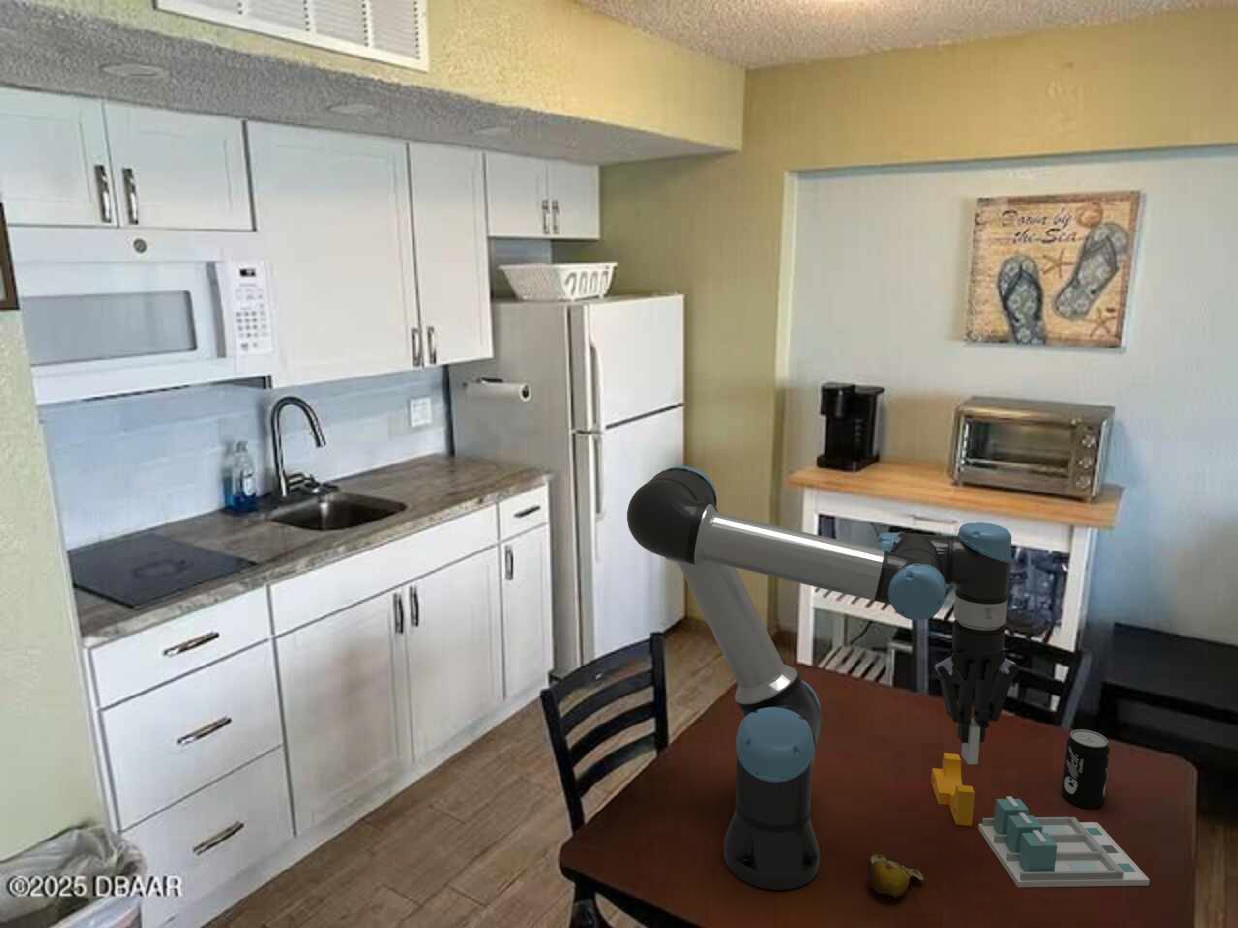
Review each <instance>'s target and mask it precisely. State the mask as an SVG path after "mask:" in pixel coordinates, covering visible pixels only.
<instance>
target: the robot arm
mask: <svg viewBox="0 0 1238 928" xmlns="http://www.w3.org/2000/svg"><path fill="white" fill-rule="evenodd" d="M717 502H718V497H717V493H716V489H715V486H714V484H713V482H712V481H711V479H710V478H709V477H708V476H707V475H706V474H705V473H703V472H702V471H700V470H699V469H697V468H694V467H691V466H687V465H676V466H671V467H669V468H667V469H663V470H661V471H660V472H658V473H656V474H655V475H654V476H653V477H652V478H651V479H650V480H649V481H648V482H646V483H645V484H644V485H641V486H640V487H639V488H638V490H636V491H635V493H633V495H632V496H631V499H630V500H629V504H628V507H627V511H626V521H627V526H628V529H629V532H630V533H631V535H632V537H633V538H634V540H635V541H636V542H637V544H638V545H640V546H641V547H642V548H644V549H645V550H647V551H649V552H650V553H653V554H655V555H657V556H661V557H664V558H665V560H668V561H671V562H673V563H676V564H678V566H679V568H680V570H681V572H682V574H683V576H684V578H685V580H686V583H687V584H688V586H689V589H690V590H691V593H692V595H693V596H694V598H695V601H696V603H697V604H698V607H699V608H700V610H701V612H702V615H703V617H704V619H705V621H706V623H707V625H708V627H709V628H710V631H711V633H712V635H713V638H714V639H715V641H716V643H717V644H718V647H719V649H720V651H721V654H722V656H723V657H724V659H725V661H726V663H727V666H728V668H729V669H730V671H731V673H732V675H733V677H734V679H735V682H736V683H737V689H736V691H735V695H734V699H735V701H736V703H737V706H738V707H739V709H740V711H741V713H742V715H743V717H744V718H743V719H742V720H741V721H740V723H739V726H738V730H737V733H736V738H735V739H736V740H735V748H736V751H735V752H736V776H735V777H736V780H735V781H736V783H735V785H736V786H735V811H734V813H733V815H732V819H731V820H730V823H729V825H728V828H727V831H726V832H725V833H726V834H725V837H724V840H723V857H724V861H725V863H726V866H727V867H728V868H729V870H730V872H731V873H733V874H734V875H735V876H736V877H737V878H739V879H740V880H741V881H744V883H747V884H750V885H752V886H755V887H757V888H761V889H765V890H766V889H767V890H774V891H785V890H787V891H788V890H792V889H796V888H800V887H802V886H804V885H806V884H808V883H810V881H812V880H813V879H815V877H816V875H817V874H818V873H819V867H820V855H821V854H820V847H819V843H818V840H817V836H816V834H815V830H814V827H813V824H812V821H811V799H812V797H811V796H812V795H811V794H812V776H813V767H814V762H815V757H816V752H817V751H816V750H817V747H818V740H819V737H820V731H821V729H822V723H823V716H822V708H821V702H820V700H819V698H818V695H817V693H816V692H815V690H814V689H813V688H812V687H811V686H810V684H809V683H807V682H806V681H804V680H801V677H800V675H799V674H798V671H797V669H796V668H795V667H793V666H790V665H787V664H785V663H783V660H782V659H781V657H780V654H779V652H778V650H777V648H776V646H775V644H774V642H773V640H772V638H771V636H770V634H769V632H768V630H767V627H766V626H765V624H764V622H763V620H762V617H761V616H760V614H759V611H758V610H757V608H756V606H755V604H754V602H753V600H752V598H751V596H750V593H749V592H748V589H747V588H746V585H745V583H744V581H743V580H742V578H741V575H740V573H739V571H738V569H739V570H743V571H748V572H752V573H757V574H760V575H765V576H769V577H774V578H777V579H781V580H785V581H790V582H795V583H799V584H803V585H807V586H809V587H810V586H811V587H814V588H815V587H816V588H819V589H821V590H822V589H823V590H827V591H831V592H835V593H839V594H845V595H848V596H853V597H857V598H861V599H865V600H869V601H874V602H877V603H882V604H885V605H889V606H891V607H892V608H893V610H894V611H895V612H896V613H897V614H898V615H900V616H901V617H903V618H905V619H907V620H911V621H925V620H928V619H930V618H933V617H934V616H935V615H937V614H938V613H939V611H941V610H942V608H943V605H944V603H945V602H946V593H947V587H946V585H955V588H954V589H955V590H954V591H955V592H954V605H953V615H952V616H953V618H954V620H953V622H952V633H951V648H950V651H949V652H948V655H947V656H948V657H947V658H945V659H944V660H942V661H941V662H940V661H939V660H936V661H934V662H933V665H932V666H933V667H934V669H935V670H936V672H937V674H938V676H939V681H940V686H941V691H942V696H943V702H944V705H945V711H946V714H947V716H948V717H949V718H950V719H951V721H952V722H953V723H955V724H956V723H958V724H957V738H958V740H959V741H960V742H961V753H960V754H961V757H962V758H963V760H965V762H966V764H967V765H978V763H979V753H980V752H979V751H980V750H979V749H980V743H984V742H985V739H986V729H988V728H989V727H990V724H989V723H991V722H995V723H997V722H998V721H999V720H1000V716H1001V714H1002V712H1003V711H1002V710H1003V707H1004V704H1005V702H1006V699H1007V696H1008V694H1009V690H1010V687H1011V685H1012V681H1013V679H1014V678H1015V677H1016V676H1017V674H1018V673H1019V672H1020V667H1019V666H1018V665H1017V664H1016V663H1015V662H1013V660H1011V659H1010V658H1009V659H1007V658H1006V654H1005V653H1004V648H1005V639H1006V627H1005V624H1006V622H1007V613H1008V612H1007V611H1008V601H1009V600H1008V599H1009V598H1008V596H1009V586H1010V585H1009V584H1010V576H1011V563H1012V535H1011V534H1012V533H1011V532H1009V530H1008V529H1007V528H1006V527H1004V526H1002V525H999V524H996V523H989V522H982V521H981V522H980V521H978V522H967V523H964V524H961V526H960V527H959V529H958V532H957V535H952V536H950V535H949V536H947V535H934V534H923V533H922V534H921V533H907V532H904V531H899V532H882V533H880V534H879V536H878V538H877V548H876V547H872V546H868V545H867V546H866V545H862V544H858V543H854V542H849V541H845V540H841V539H836V538H831V537H827V536H825V535H824V536H822V535H818V534H814V533H810V532H805V531H801V530H796V529H793V528H787V527H783V526H778V525H774V524H770V523H766V522H761V521H757V520H753V519H752V520H751V519H748V518H743V517H738V516H734V515H731V514H725V513H721V512H719V511H718V508H717V504H718V503H717ZM953 667H954V668H955V669H956V671H957V673H958V679H959V688H958V701H957V696H956V691H955V685H954V681H953V678H952V674H953ZM995 673H997V674H996V676H995V679H994V682H993V676H994V674H995ZM991 687H992V688H991ZM973 700H974V701H973ZM973 702H974V703H973ZM972 715H973V718H972Z"/></svg>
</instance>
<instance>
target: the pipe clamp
mask: <svg viewBox="0 0 1238 928" xmlns="http://www.w3.org/2000/svg"><path fill="white" fill-rule="evenodd" d="M930 780H931V782H930V783H931V786H932V789H933V792H934V795H935V797H936V801H937V804H938V805H943V806H948V807H949V809H950V812H951V815H952V818H953V821H954V822H955V825H958V826H969V827H973V822H974V821H973V819H974V809H975V797H976V796H975V795H976V792H975V790H974V787H973V785H967V784H966V785H965V784H963V781H962V759H961V757H960V755H959V753H951V752H950V753H949V752H943V759H942V768H936V767H932V769H931V779H930Z"/></svg>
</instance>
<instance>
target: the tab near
mask: <svg viewBox="0 0 1238 928" xmlns="http://www.w3.org/2000/svg"><path fill="white" fill-rule="evenodd" d="M1056 853H1057V844H1056V843H1055V842H1054V841H1053V839H1052V838H1051V837H1050V836H1049V834H1048V833H1040V832H1039V831H1038V830H1033V833H1021V843H1020V853H1019V863H1020V864H1021V865H1022V867H1023V868H1024V870H1025V871H1026V872H1048V871H1055V862H1056Z"/></svg>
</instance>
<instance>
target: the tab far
mask: <svg viewBox="0 0 1238 928" xmlns="http://www.w3.org/2000/svg"><path fill="white" fill-rule="evenodd" d="M1029 812H1030V809H1029V808H1028V807H1027V805H1026V804H1025V803H1024V802H1023V801H1022V800H1021V798H1013V797H1012V796H1006V797H1005V798H996V799H995V805H994V815H993V816H994V817H993V818H994V828H995V829H996V830H997V832H998V833H999V835H1007V824H1008V816H1016V815H1019V813H1025V815H1029Z"/></svg>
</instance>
